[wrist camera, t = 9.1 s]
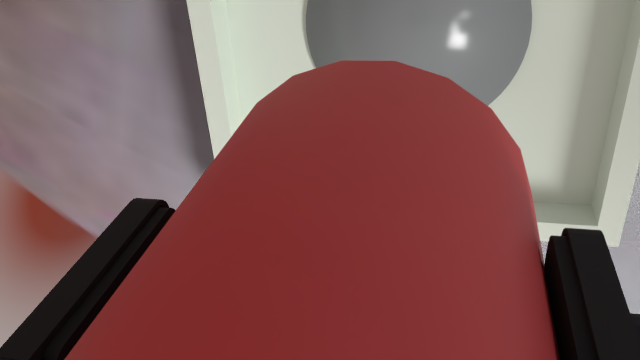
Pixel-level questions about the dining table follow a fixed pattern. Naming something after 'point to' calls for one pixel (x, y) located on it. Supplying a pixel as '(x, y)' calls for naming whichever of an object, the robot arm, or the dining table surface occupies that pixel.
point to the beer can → (345, 235)
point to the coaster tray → (461, 78)
